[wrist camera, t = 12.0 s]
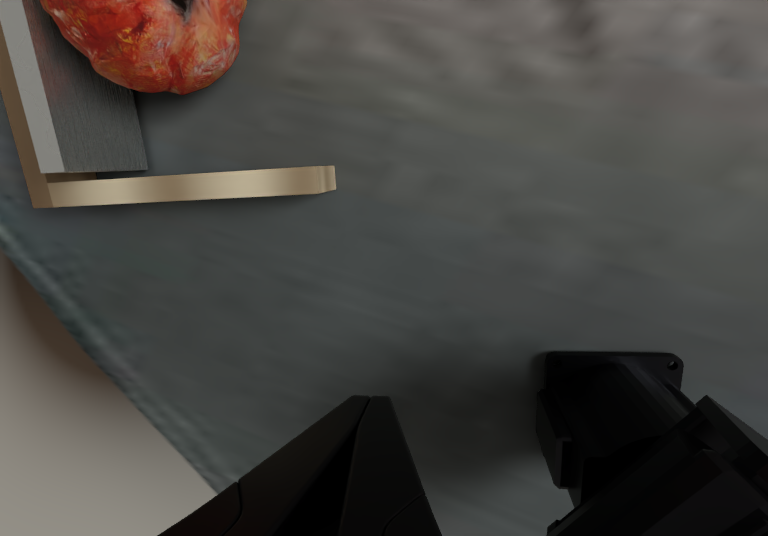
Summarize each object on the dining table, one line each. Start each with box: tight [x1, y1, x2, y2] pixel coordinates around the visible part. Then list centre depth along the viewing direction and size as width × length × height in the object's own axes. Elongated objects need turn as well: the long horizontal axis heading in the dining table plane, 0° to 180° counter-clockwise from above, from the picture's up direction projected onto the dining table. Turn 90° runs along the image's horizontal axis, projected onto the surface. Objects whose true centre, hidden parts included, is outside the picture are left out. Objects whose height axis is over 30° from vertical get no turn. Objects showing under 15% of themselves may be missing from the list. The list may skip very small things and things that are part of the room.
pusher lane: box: [0, 21, 336, 208], centre depth 19 cm, size 15×13×3 cm
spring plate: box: [0, 0, 148, 173], centre depth 18 cm, size 1×10×5 cm, turn 3°
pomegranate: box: [40, 0, 247, 95], centre depth 17 cm, size 7×7×10 cm
